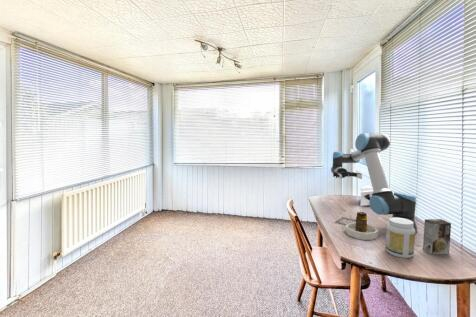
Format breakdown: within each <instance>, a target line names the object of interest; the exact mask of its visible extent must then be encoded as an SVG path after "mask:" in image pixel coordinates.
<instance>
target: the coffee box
mask: <svg viewBox="0 0 476 317" xmlns="http://www.w3.org/2000/svg"><path fill="white" fill-rule="evenodd" d="M451 229H452V223H451V222H448V221H447V220H445V219H442V218H436V219H432V218H431V219H430V218H429V219H426V218H425V219H424V228H423V239H422V250H424V251H425V252H427V253H429V254H430V255H450V244H451V231H452V230H451Z"/></svg>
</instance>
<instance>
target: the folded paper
mask: <svg viewBox="0 0 476 317" xmlns="http://www.w3.org/2000/svg"><path fill="white" fill-rule="evenodd" d="M372 193H373V187H372V186H370V185H368V184H366V185H365V186H362V187H360V207H364V206H370V204H369V201H370V198H371V197H372Z"/></svg>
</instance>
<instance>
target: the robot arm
mask: <svg viewBox="0 0 476 317" xmlns="http://www.w3.org/2000/svg"><path fill="white" fill-rule="evenodd" d="M354 144H355V148H356V150H355V151H354V152H352V153H344V151H333V154H332V166H331V168H330V171H331V173H332V177H335V179H341V180H342V179H343V178H346V177H353V178H354V177H355V178H357V179H360V180H362V178H363V174H362V173H360V172H354V171H348V170H347V169H346V168H345V167H343V164H357V163H359V162H360V161H361V160H362V159H364V158H365V163H366V168H367V172H368V174H369V175H368V176H369V179H370V183H371V187H373V193H372V197H371V198H370V201H369V204H370V205H369V208H370V209H371V210H372V212H373V213H375V214H376V215H382V216H387V215H392V216H391V218H393V217H398V218H404V219H408V220H411V221H413V223H414V224H413V225H414V226H413V228H414V229H415V234H417V233H418V226H417V223H416V220H415V219H416V218H415V216H416V206H417V199H416V196H415V195H414V194H410V193H406V192H401V191H394V193H393V190H391V189H390V188H389V185H388V181H387V179H386V178H387V177H386V174H385V172H384V171H385V170H384V166H383V163H382V159H381V156H380V153H381V152H383V151H385V150H387V149H389V147H390V145H391V139H390V137H389V136H388V135H387V134H385V133H381V132H376V133H375V132H374V133H373V132H365V133H364V132H363V133H362V132H361V133H360V134H358V135H357V136H356V139H355V142H354Z"/></svg>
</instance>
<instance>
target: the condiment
mask: <svg viewBox="0 0 476 317" xmlns="http://www.w3.org/2000/svg"><path fill="white" fill-rule="evenodd" d="M367 216H368V215H367V213H366V212H365V211H357V212H356V216H355V220H356V221H355V223H356V227H355V230H354V231H358V232H364V233H368V232H366V231H367V225H368V218H367Z"/></svg>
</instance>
